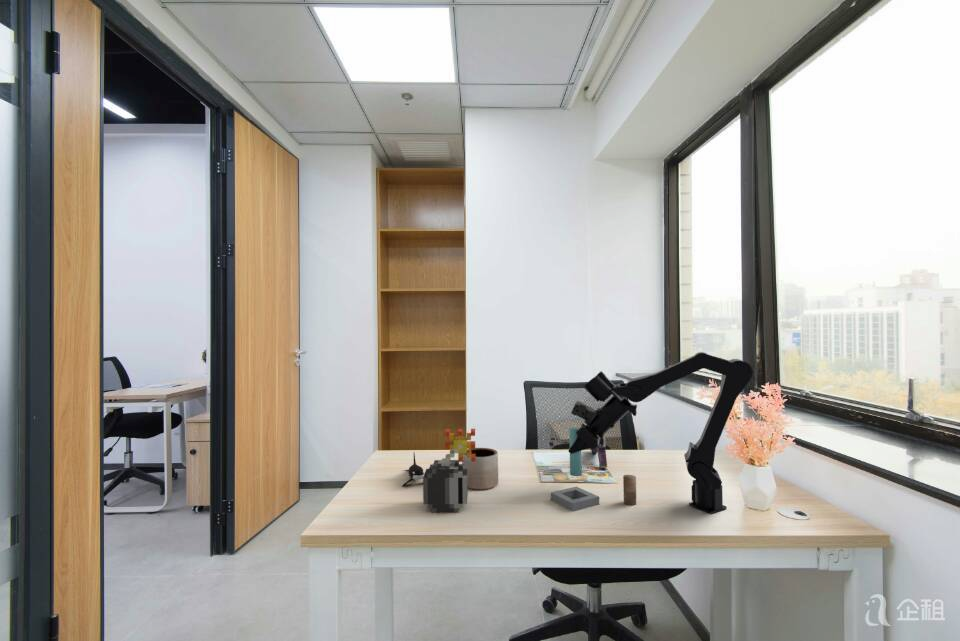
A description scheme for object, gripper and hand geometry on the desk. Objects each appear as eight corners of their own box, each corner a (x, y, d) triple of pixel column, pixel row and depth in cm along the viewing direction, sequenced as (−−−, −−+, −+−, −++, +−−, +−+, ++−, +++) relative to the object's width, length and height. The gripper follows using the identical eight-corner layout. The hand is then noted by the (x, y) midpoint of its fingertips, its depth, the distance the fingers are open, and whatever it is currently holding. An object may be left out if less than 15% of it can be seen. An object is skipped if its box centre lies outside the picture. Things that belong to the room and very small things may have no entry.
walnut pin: (639, 504, 120) (638, 477, 121) (630, 506, 119) (629, 479, 119) (629, 500, 123) (629, 474, 123) (621, 502, 122) (620, 476, 122)
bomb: (426, 501, 124) (425, 427, 124) (475, 500, 124) (475, 426, 124) (423, 513, 116) (422, 434, 116) (475, 512, 116) (475, 433, 116)
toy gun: (598, 471, 168) (596, 443, 171) (608, 467, 148) (605, 435, 152) (591, 471, 168) (589, 442, 171) (600, 466, 148) (598, 435, 152)
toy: (437, 485, 134) (435, 449, 136) (403, 489, 130) (402, 452, 133) (424, 480, 153) (422, 449, 155) (394, 483, 150) (393, 451, 152)
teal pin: (584, 474, 129) (583, 428, 130) (575, 477, 128) (574, 430, 128) (575, 471, 132) (575, 426, 132) (567, 473, 130) (566, 428, 131)
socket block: (599, 504, 121) (599, 496, 121) (572, 511, 116) (572, 503, 116) (576, 493, 128) (576, 486, 128) (550, 499, 124) (550, 492, 124)
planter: (489, 493, 130) (489, 459, 130) (455, 487, 134) (455, 455, 134) (503, 481, 140) (503, 449, 140) (471, 476, 144) (471, 446, 144)
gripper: (592, 388, 138) (557, 422, 141) (583, 397, 120) (543, 436, 124) (620, 416, 135) (583, 450, 138) (615, 429, 117) (572, 468, 121)
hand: (570, 450), depth 131 cm, fingers closed on teal pin, 3 cm apart
